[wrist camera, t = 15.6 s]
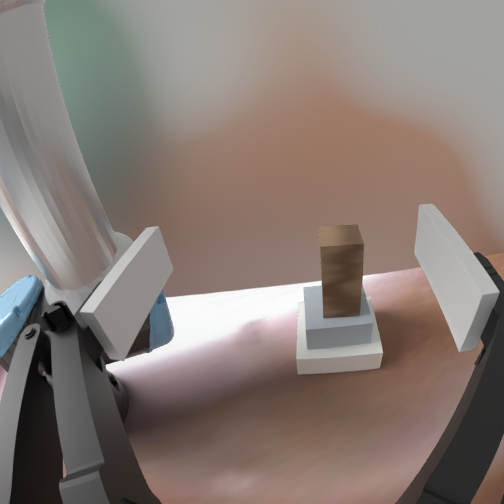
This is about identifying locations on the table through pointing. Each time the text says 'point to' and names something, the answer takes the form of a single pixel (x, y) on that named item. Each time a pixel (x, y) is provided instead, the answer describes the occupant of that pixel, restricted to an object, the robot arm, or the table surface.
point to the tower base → (337, 351)
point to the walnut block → (341, 270)
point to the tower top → (334, 323)
